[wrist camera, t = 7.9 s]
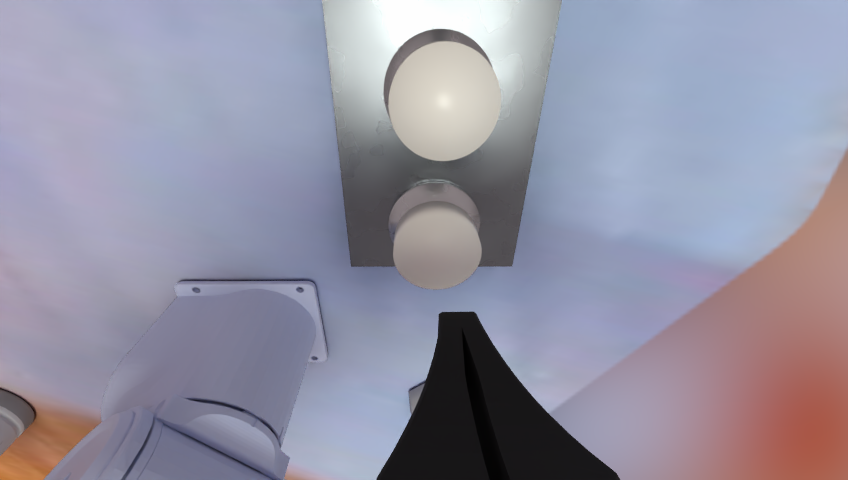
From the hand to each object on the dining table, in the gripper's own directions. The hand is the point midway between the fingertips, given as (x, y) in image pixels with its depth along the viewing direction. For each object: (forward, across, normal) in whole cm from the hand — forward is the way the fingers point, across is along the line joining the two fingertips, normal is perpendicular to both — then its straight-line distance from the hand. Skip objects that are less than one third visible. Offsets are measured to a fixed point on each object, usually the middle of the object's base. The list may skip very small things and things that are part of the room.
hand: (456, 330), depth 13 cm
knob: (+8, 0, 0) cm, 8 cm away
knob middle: (+8, 0, -7) cm, 11 cm away
